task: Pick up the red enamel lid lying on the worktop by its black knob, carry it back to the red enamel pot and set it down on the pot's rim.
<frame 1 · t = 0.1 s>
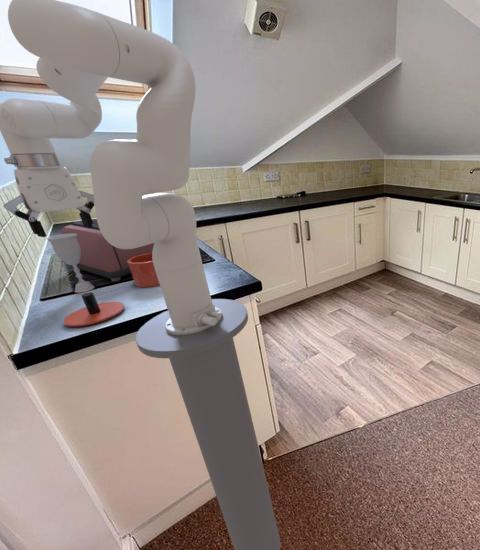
hand: (66, 231, 78), 22 cm above the worktop, tool pointing down, fingers open, 9 cm apart
pot: (155, 280, 104), on the worktop
lid: (95, 314, 81), point 1 cm above the worktop
chalice: (85, 289, 98), on the worktop
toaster: (143, 261, 124), on the worktop
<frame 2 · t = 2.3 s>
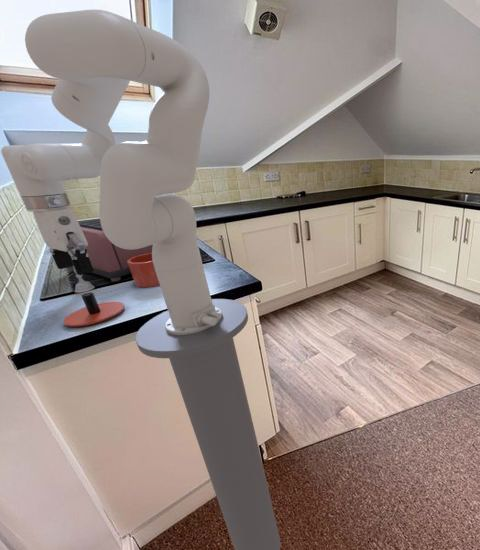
hand: (76, 270, 76), 13 cm above the worktop, tool pointing down, fingers open, 9 cm apart
nothing on the worktop moved.
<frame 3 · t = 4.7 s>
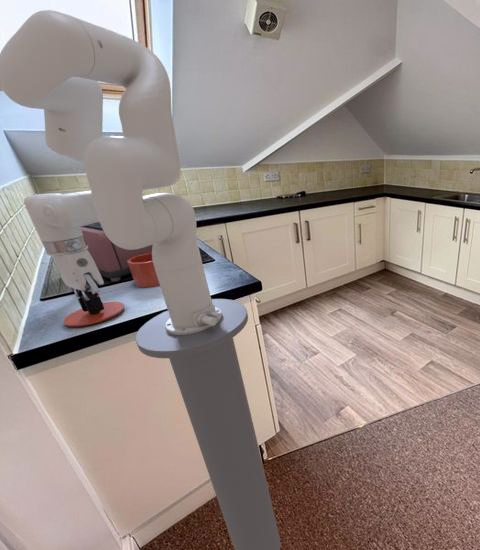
hand: (93, 309, 81), 2 cm above the worktop, tool pointing down, fingers closed on lid, 2 cm apart
lid: (95, 313, 81), point 1 cm above the worktop, touching gripper
everything else where it was.
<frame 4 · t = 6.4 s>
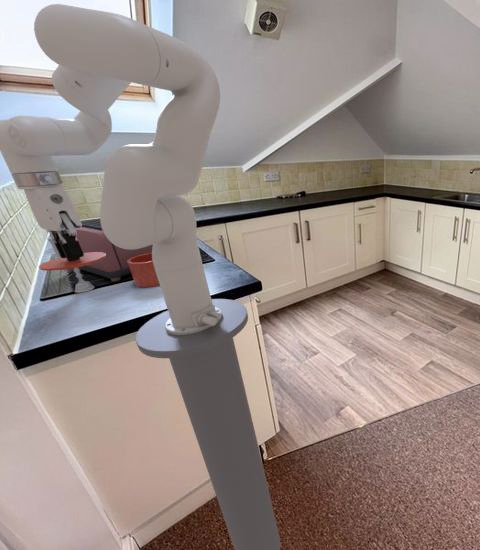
hand: (72, 256, 75), 17 cm above the worktop, tool pointing down, fingers closed on lid, 2 cm apart
lid: (74, 261, 75), point 16 cm above the worktop, touching gripper
everything else where it was.
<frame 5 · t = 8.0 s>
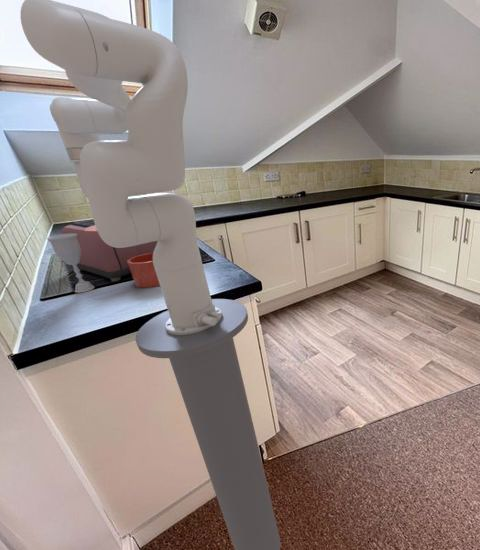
hand: (111, 223, 87), 22 cm above the worktop, tool pointing down, fingers closed on lid, 2 cm apart
lid: (112, 227, 87), point 21 cm above the worktop, touching gripper
everything else where it was.
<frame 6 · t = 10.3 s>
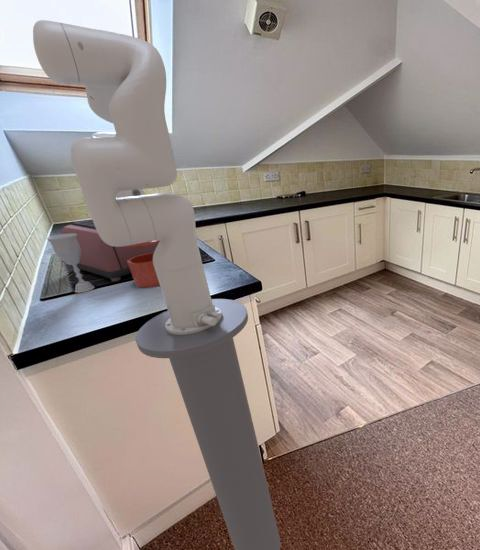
hand: (141, 237, 98), 16 cm above the worktop, tool pointing down, fingers closed on lid, 2 cm apart
lid: (143, 241, 98), point 14 cm above the worktop, touching gripper
everything else where it was.
when the fingers open (10 cm above the worktop, at t = 11.8 s): lid stays where it is, resting on pot.
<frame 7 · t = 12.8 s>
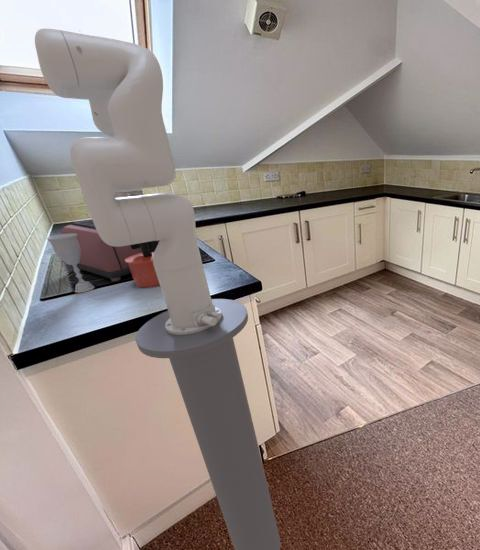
hand: (146, 249, 99), 11 cm above the worktop, tool pointing down, fingers open, 9 cm apart
lid: (148, 257, 100), point 8 cm above the worktop, touching pot
everything else where it was.
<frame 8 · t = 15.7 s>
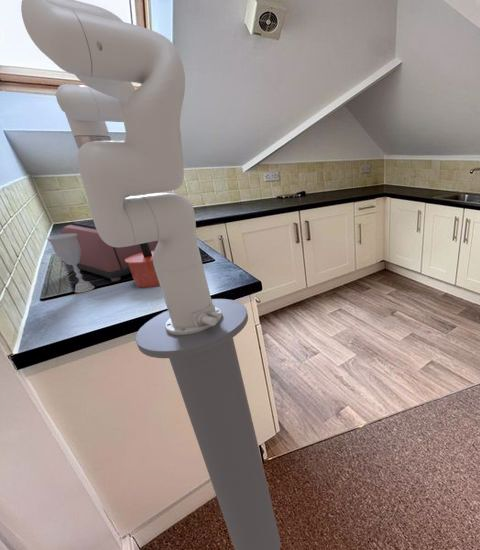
hand: (116, 207, 87), 26 cm above the worktop, tool pointing down, fingers open, 9 cm apart
nothing on the worktop moved.
at the end: lid 0.0 cm off-centre on the pot, point 8.5 cm above the pot's base; lid tilted 0°; the gripper is holding nothing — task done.
